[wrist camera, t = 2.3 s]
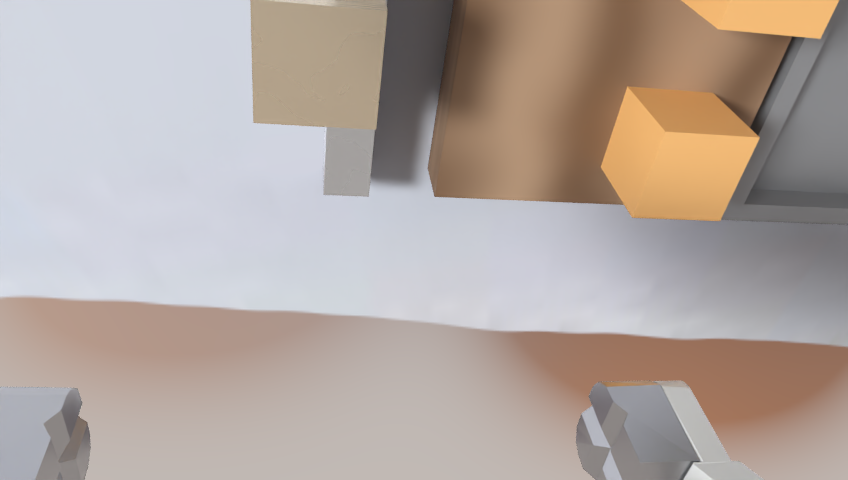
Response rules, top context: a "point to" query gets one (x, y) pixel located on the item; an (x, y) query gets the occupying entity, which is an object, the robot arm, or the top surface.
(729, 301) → the top surface
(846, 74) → the tray
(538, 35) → the chopping board
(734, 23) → the orange cube
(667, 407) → the robot arm
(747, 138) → the orange cube
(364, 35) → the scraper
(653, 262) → the top surface
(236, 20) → the top surface
